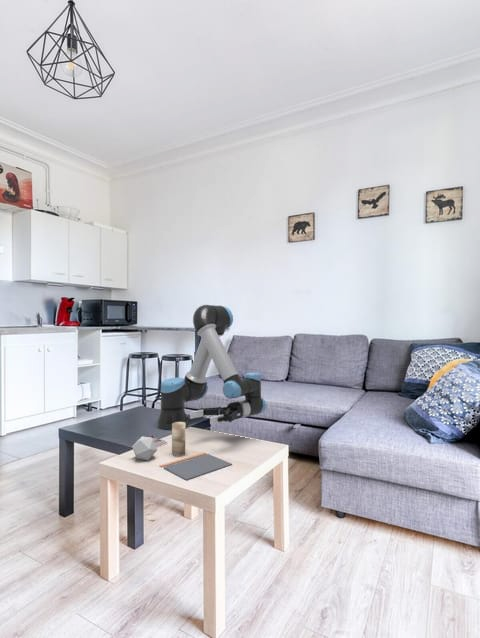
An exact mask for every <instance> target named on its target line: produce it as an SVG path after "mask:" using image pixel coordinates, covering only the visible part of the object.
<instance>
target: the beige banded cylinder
mask: <svg viewBox="0 0 480 638" xmlns="http://www.w3.org/2000/svg"><path fill="white" fill-rule="evenodd" d="M171 455H173V456H172V457H177V458H178V457H183V455H184V456H185V455H186V427H185V422H174V423H172V429H171Z"/></svg>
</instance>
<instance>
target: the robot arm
mask: <svg viewBox="0 0 480 638" xmlns="http://www.w3.org/2000/svg"><path fill="white" fill-rule="evenodd" d="M233 322H234V316H233V314H232V311H231V309H230V308H228V307H227V306H223V305H214V304H213V305H211V304H203V305H200V306H198V307H197V308H196V310H195V311H194V314H193V317H192V323H193V327H194V330H195V332H196V335H197V336H200V342H199V345H198V347H197V350H196V352H195V355H194V358H193V361H192V364H191V366H190V369H189V371H187V372H185V376H184V378H183V377H170V378H165V379H164V380H163V381H162V382H161V384H160V413H159V415H158V419H157V423H156V427H157V428H159V429H162V430H172V423H174V422H185V428H186V427H187V426H188V424H189V423H188V418H187V414H186V412H185V403H188V402H192V401H193V402H194V401H197V400H198V401H199V400H201V399H203V398H205V396H206V395H207V393H208V389H209V386H208V382H207V381H208V379H207V377H206V376H207V372H208V369H209V367H210V364H211V361H213V363H214V366H215V368H216V369H217V372H218V374H219V376H220V378H221V380H222V382H223V386H222V393H223V396H225V398H228V399H237V398H242V397H243V396H244V399H242V400H238V401H232V402H229V403H228V404H227V406H223V407H222V406H215V407H203V408H202V407H201V408H200V409H199V410H195V411H190V412H189V419H190V420H191V419H197V418H203V417H204V416H210V417H209V424H210V425H215V424H219V423H223V422H225V423H227V422H228V423H231V422H233V421H235V420H239V419H243V420H244V418H246V417H250V416H255V415H256V416H258V415H259V414H262V413H264V412H265V411H266V409H267V402H266V399H264V397H262V381H261V374H260V373H259V372H247V373H245V374H244V378H241V377H240V375H239V373H238V371H237V369H236V367H235V366H234V363H233V362H232V360H231V357H230V355H229V353H228V352H227V350H226V348H225V345H224V344H223V342H222V340H221V338H220V337H222V336H224V334H225V332H226V330H227V329H229V328H231V327H232V325H233Z"/></svg>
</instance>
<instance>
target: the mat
mask: <svg viewBox="0 0 480 638" xmlns="http://www.w3.org/2000/svg"><path fill="white" fill-rule="evenodd" d="M232 465H233V463H231V462H228V461H227V460H224V459H222V458H219V457H216V456H214V455H212V454H209V453H206V454H205V455H202V456H198V457H195V458H192V459H188V460H185V461H182V462H178V463H175V464H172V465H168V466H165V467H163V470H165V471H168V472H170V473H172V474H173V475H175V476H177V477H179V478H181V479H183V480H184V481H186V482H187V481H190V480H193V479H195V478H198V477H201V476H204V475H208V474H210V473H212V472H215V471H218V470H221V469H224V468H226V467H227V468H228V467H230V466H232Z"/></svg>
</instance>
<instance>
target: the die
mask: <svg viewBox="0 0 480 638" xmlns="http://www.w3.org/2000/svg"><path fill="white" fill-rule="evenodd" d="M150 437H151V436H149V437H147V436H141V437H140V438H138V439H137V441H136V442H135V443H133V445H132V450H133V452H134V454H135V457H136V459H137V460H141V459H142V461H149V460H150V459H151V458H152V457H153V455H155V454H156V453H157V451H158V448H156V445H155V443H154V440H153V438H154V437H153V438H150Z"/></svg>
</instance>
